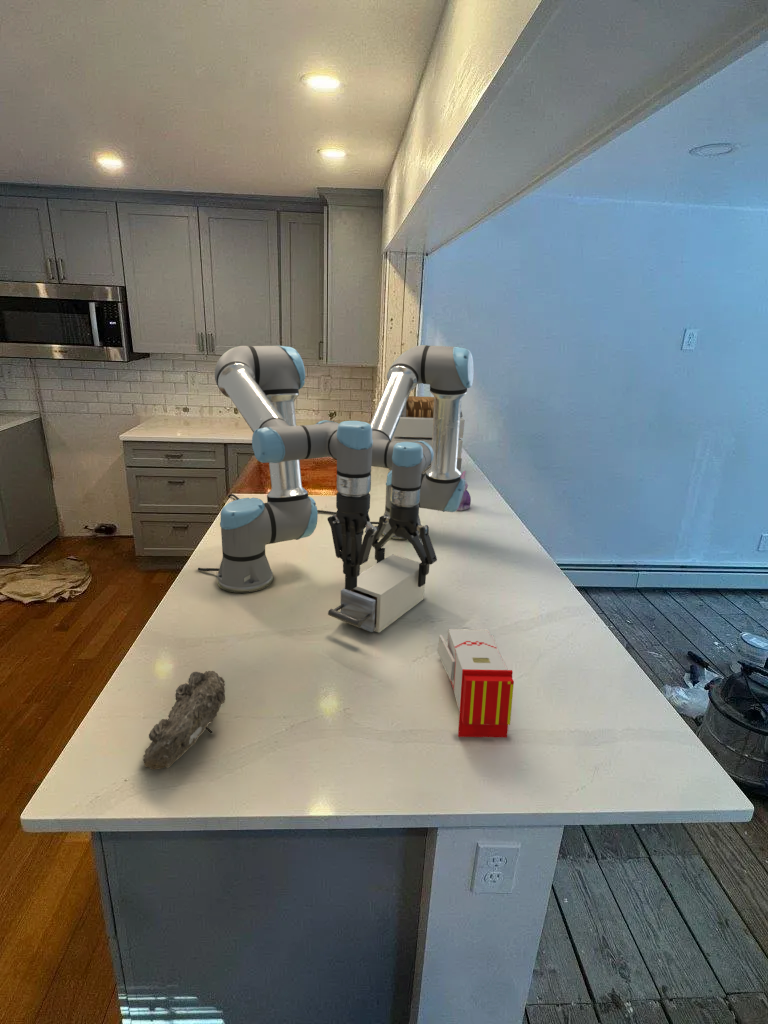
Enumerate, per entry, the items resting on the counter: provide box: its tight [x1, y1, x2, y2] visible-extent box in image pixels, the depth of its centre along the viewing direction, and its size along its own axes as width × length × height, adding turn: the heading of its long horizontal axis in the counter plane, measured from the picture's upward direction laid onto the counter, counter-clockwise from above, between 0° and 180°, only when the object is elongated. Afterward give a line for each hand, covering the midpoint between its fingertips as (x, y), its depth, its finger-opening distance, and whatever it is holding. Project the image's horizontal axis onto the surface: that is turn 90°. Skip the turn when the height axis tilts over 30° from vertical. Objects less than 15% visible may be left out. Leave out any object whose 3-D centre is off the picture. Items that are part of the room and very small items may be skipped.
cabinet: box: [350, 553, 426, 633], centre depth 148 cm, size 22×11×10 cm, turn 146°
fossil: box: [142, 670, 226, 771], centre depth 103 cm, size 22×10×15 cm
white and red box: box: [437, 628, 515, 738], centre depth 117 cm, size 12×13×30 cm
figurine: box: [456, 470, 472, 511], centre depth 227 cm, size 9×10×15 cm
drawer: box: [327, 588, 377, 633], centre depth 144 cm, size 26×10×8 cm, turn 146°
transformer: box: [389, 395, 465, 472], centre depth 268 cm, size 34×33×41 cm
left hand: (350, 587), depth 133 cm, fingers closed
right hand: (400, 578), depth 153 cm, fingers open, 12 cm apart
